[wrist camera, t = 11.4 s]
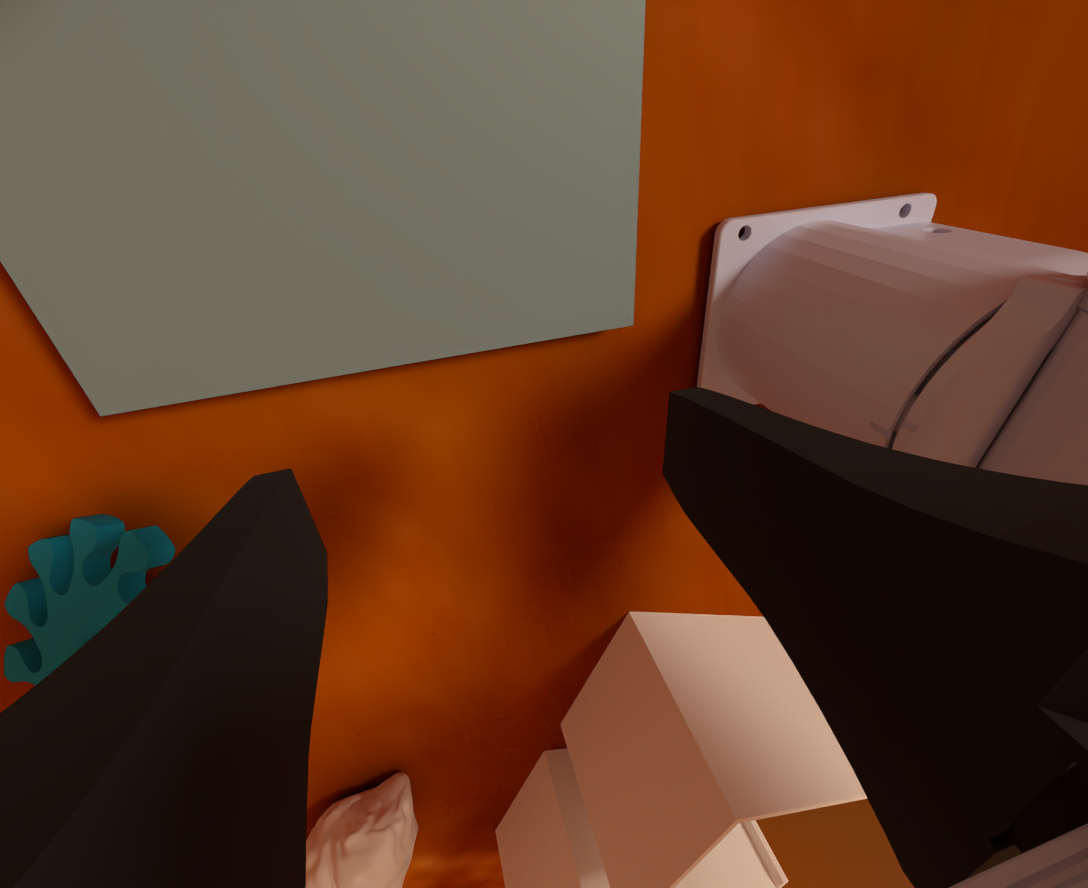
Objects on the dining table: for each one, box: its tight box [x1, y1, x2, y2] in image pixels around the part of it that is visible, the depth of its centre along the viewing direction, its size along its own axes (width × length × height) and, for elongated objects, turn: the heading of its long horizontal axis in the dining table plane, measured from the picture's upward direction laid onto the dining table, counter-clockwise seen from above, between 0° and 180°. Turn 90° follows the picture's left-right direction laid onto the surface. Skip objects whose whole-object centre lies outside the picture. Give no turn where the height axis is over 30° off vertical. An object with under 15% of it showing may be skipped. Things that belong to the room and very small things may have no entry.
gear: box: [4, 514, 175, 685], centre depth 19 cm, size 11×6×10 cm
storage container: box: [495, 612, 867, 888], centre depth 33 cm, size 25×11×11 cm, turn 159°
